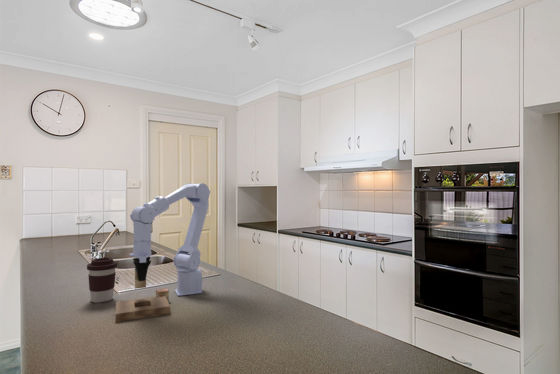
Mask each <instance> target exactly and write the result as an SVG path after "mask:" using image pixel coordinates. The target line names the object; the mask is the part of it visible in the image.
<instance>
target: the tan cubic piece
mask: <svg viewBox="0 0 560 374" xmlns="http://www.w3.org/2000/svg"><path fill="white" fill-rule="evenodd" d="M169 292H170V291H169V289H167V288H166V287H165V288H159V289H155V297H159V296H166V298H167V300H168V303H169V299H170V297H169Z"/></svg>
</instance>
